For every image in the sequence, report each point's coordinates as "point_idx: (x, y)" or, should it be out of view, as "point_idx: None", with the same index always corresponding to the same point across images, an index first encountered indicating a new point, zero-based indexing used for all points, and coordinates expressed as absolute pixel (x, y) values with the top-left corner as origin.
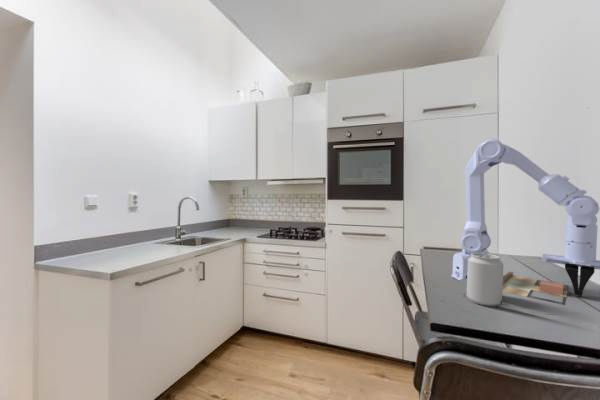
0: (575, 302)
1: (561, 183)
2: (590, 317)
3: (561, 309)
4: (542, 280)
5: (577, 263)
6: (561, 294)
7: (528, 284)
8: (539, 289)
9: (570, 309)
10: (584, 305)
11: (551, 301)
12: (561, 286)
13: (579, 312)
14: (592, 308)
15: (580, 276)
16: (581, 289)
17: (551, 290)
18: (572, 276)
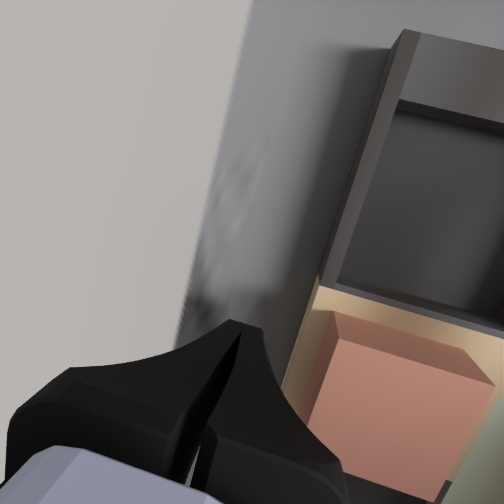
0: (262, 311)
1: None
2: (265, 18)
3: None
4: (431, 496)
5: (180, 485)
6: (339, 315)
7: (489, 483)
8: None
9: (335, 129)
10: (231, 277)
11: (481, 64)
12: (336, 374)
13: (299, 94)
14: (206, 239)
15: (198, 387)
16: (221, 331)
17: (399, 340)
18: (268, 402)
